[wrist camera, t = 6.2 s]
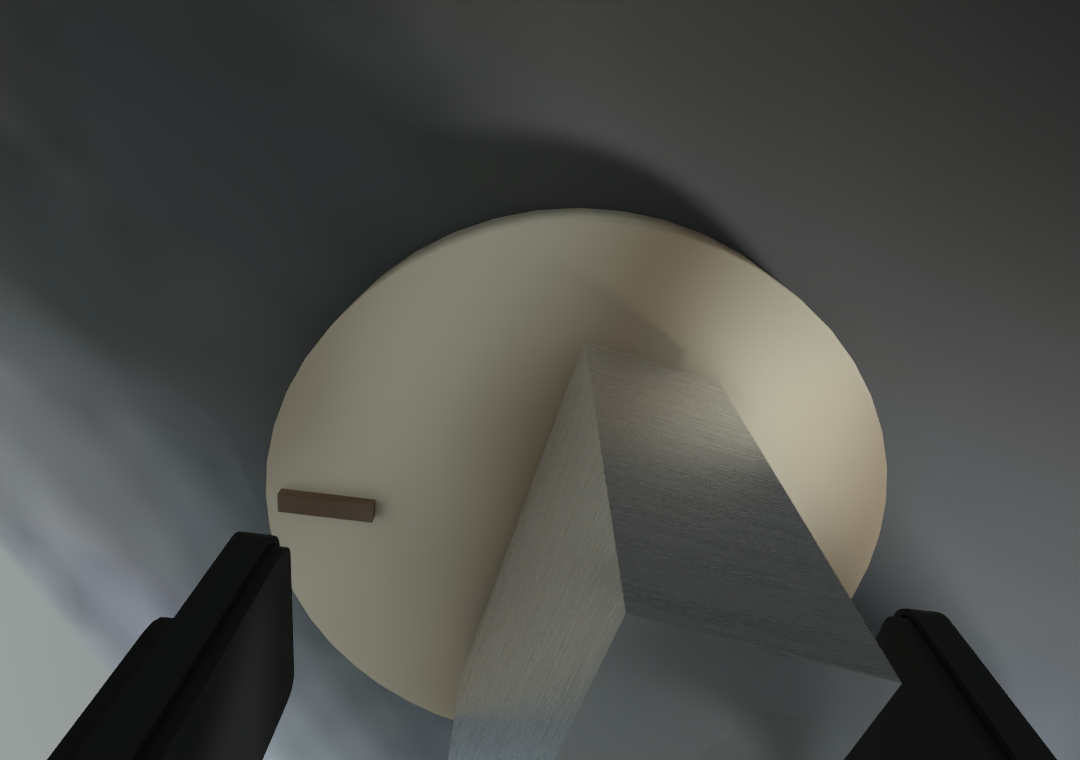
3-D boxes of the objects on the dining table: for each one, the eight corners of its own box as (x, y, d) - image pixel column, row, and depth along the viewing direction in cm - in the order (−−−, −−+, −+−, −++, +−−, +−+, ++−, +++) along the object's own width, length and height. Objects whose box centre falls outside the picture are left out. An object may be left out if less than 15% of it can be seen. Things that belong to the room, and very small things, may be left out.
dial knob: (584, 341, 10) (626, 613, 5) (719, 382, 11) (901, 682, 5) (442, 725, 14) (376, 1124, 9) (546, 749, 14) (545, 1149, 9)
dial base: (942, 256, 12) (1002, 280, 10) (762, 708, 17) (785, 772, 15) (287, 163, 11) (245, 173, 10) (299, 659, 16) (272, 719, 15)
